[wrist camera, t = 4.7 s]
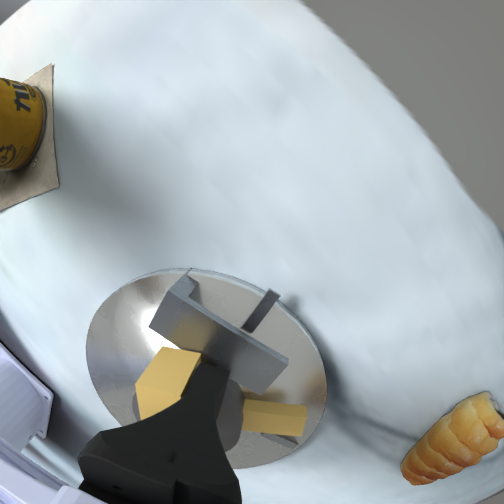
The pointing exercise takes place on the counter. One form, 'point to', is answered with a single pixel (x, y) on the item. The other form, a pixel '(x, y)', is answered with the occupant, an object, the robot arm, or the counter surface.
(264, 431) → the multicoloured piece
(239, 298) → the post plate
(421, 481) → the pastry
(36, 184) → the condiment
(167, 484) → the robot arm
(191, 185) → the counter surface
